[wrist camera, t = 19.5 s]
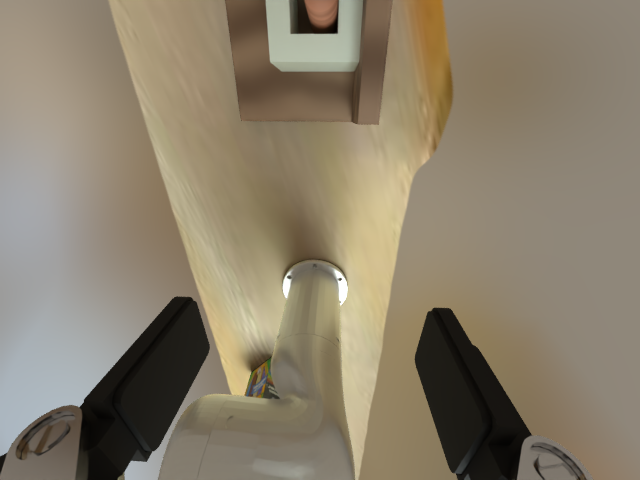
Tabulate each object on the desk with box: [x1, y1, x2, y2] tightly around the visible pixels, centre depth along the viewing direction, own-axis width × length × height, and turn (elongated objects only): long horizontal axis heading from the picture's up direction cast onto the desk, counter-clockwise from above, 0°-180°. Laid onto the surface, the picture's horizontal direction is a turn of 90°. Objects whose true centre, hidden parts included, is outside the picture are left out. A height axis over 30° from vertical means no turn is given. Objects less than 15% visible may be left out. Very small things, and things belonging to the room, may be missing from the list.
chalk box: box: [245, 357, 280, 399], centre depth 54 cm, size 9×9×15 cm
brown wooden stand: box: [225, 0, 392, 125], centre depth 24 cm, size 20×18×12 cm
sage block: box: [266, 0, 363, 72], centre depth 25 cm, size 9×9×6 cm
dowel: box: [304, 0, 338, 34], centre depth 23 cm, size 3×3×9 cm
